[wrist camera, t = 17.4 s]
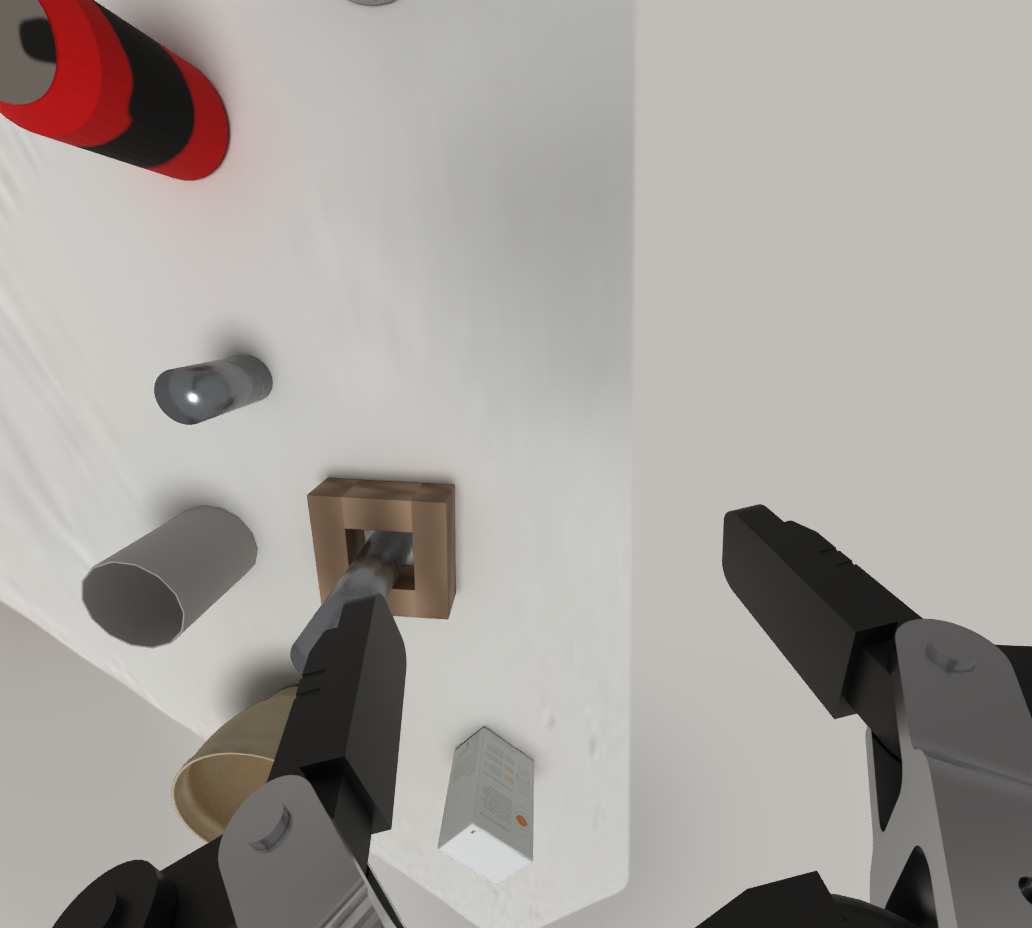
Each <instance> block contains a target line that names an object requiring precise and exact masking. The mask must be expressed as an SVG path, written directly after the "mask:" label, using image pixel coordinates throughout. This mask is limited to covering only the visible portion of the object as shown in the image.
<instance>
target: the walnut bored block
mask: <svg viewBox="0 0 1032 928" xmlns="http://www.w3.org/2000/svg"><path fill="white" fill-rule="evenodd" d="M307 499H308V507H309V514H310V522H311V529H312V537H313V544H314V552H315V559H316V567H317V574H318V582H319V589H320V596H321V604H323V602H324V601H325V600H326V598H327V597H328V595H329V594H330V593H331V591H332V590H333V588H334V587H335V586H336V584H337V583H338V581H339V580H340V579H341V577H342V576H343V574H344V573H345V572H346V570H347V569H348V567H349V566H350V565H351V563H352V562H353V560H354V559H355V558H356V556H357V555H358V553H359V552H360V551H361V549H362V548H363V547H364V545H365V541H364V530H379V531H396V532H412V535H413V556H414V566H413V565H404V567H403V569H402V570H401V572H400V574H399V576H398V578H397V580H396V582H395V584H394V586H393V588H392V590H391V592H390V594H389V596H388V598H387V600H386V602H387V605H388V607H389V609H390V611H391V614H392V616H404V617H420V618H435V619H448V618H449V615H450V611H451V608H452V604H453V601H454V598H455V594H456V574H455V487H454V485H448V484H429V483H411V482H393V481H374V480H356V479H338V478H327V479H326V480H325V481H323V482H322V483H321V484H320V485H319V486H317V487H316V488H315V489H314V490H313V491H311V492H310V493H309V494H308V495H307Z"/></svg>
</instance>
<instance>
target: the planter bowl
mask: <svg viewBox="0 0 1032 928" xmlns="http://www.w3.org/2000/svg"><path fill="white" fill-rule="evenodd" d="M297 688H298V686H294V687H289V688H285V689H282V690H280V691H278V692H277V693H275V694H274V695H273V696H272V697H271V698H269V699H267V700H264V701H262V702H259V703H257V704H255V705H253V706H251V707H249V708H248V709H246V710H244V711H242V712H241V713H239V714H238V715H236V716H235V717H233V718H232V719H231V720H229V721H228V722H227V723H225V724H224V725H223V726H222V727H221V728H219V729H218V730H217V731H216V732H215V733H214V734H213V735H212V736H211V737H210V738H209V739H208V740H207V741H206V742H205V743H204V745H203V746H202V747H201V748H200V749H199V751H198V752H197V753H196V754H195V755H194V756H193V757H192V758H191V759H189V760H188V761H187V763H185V764H184V766H183V767H182V768H181V769H180V771H179V772H178V773H177V775H176V776H175V778H174V781H173V784H172V788H171V798H172V803H173V807H174V809H175V811H176V813H177V815H178V816H179V818H180V820H181V821H182V822H183V823H184V825H185V826H186V827H187V828H188V829H189V830H190V831H191V832H192V833H193V834H194V835H195V836H196V837H198V838H199V839H201V840H202V841H203V842H205V843H206V844H207V843H209V842H211V841H212V840H214V839H216V838H217V837H219V836H220V835H222V834H223V833H224V831H225V829H226V827H227V825H228V823H229V821H230V820H231V818H232V816H233V815H234V814H235V812H236V811H237V809H238V808H239V807H240V806H241V805H242V803H243V802H244V801H245V800H246V799H247V798H248V797H249V796H250V795H251V794H252V793H253V792H255V791H256V790H257V789H259V788H260V787H261V786H263V785H264V784H266V782H267V779H268V777H269V774H270V771H271V768H272V765H273V762H274V759H275V756H276V753H277V750H278V747H279V744H280V741H281V738H282V734H283V731H284V728H285V725H286V722H287V719H288V716H289V713H290V710H291V707H292V704H293V701H294V699H296V692H297Z"/></svg>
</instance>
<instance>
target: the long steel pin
mask: <svg viewBox="0 0 1032 928" xmlns="http://www.w3.org/2000/svg"><path fill="white" fill-rule="evenodd" d="M412 549H413V535H412V532H396V531H379V530H375V531H374V533H373V534H372V535H371V537H370V538H369V540H368V541H367V542H366V544H365V545H364V547H363V548H362V549H361V551H360V552H359V553H358V555H357V556H356V558H355V559H354V560H353V562H352V563H351V565H350V566H349V567H348V569H347V570H346V572H345V573H344V574H343V576H342V577H341V579H340V580H339V581H338V583H337V584H336V586H335V587H334V588H333V590H332V591H331V593H330V594H329V595H328V597H327V598H326V600H325V601H324V602H323V604H322V605H321V606H320V608H319V609H318V611H317V612H316V613H315V615H314V616H313V618H312V619H311V620H310V622H309V623H308V625H307V626H306V627H305V629H304V630H303V632H302V633H301V634H300V636H299V637H298V639H297V640H296V641H295V643H294V644H293V646H292V648H291V660H292V663H293V665H294V666H295V668H296V669H297V670H298V671H299V672H300V673H301V674H302V673H303V670H304V667H305V664H306V661H307V658H308V655H309V652H310V650H311V649H312V648H313V646H314V645H315V644H316V642H317V641H318V639H319V638H320V637H321V635H322V634H323V633H324V631H325V630H328V629H332V628H336V627H338V623H339V620H340V616H341V612H342V609H343V606H344V603H345V602H346V601H348V600H352V599H356V598H360V597H364V596H369V595H373V594H377V593H381V594H382V595H383V596H384V598H385V600H387V598H388V596H389V594H390V592H391V590H392V588H393V586H394V584H395V582H396V580H397V578H398V576H399V574H400V572H401V570H402V569H403V567H404V565H405V563H406V561H407V559H408V557H409V555H410V553H411V551H412Z"/></svg>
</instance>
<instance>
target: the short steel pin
mask: <svg viewBox="0 0 1032 928" xmlns="http://www.w3.org/2000/svg"><path fill="white" fill-rule="evenodd" d="M271 389H272V376H271V374H270V371H269V370H268V368H267V367H266V365H265V364H264V363H263V362H261V361H260V360H259V359H257V358H255V357H252V356H247V355H243V356H237V357H232V358H227V359H222V360H217V361H211V362H206V363H201V364H196V365H191V366H186V367H181V368H175V369H170V370H167V371H165V372H163V373H162V374H160V375H159V377H158V378H157V380H156V382H155V387H154V393H155V397H156V400H157V403H158V405H159V406H160V408H161V409H162V411H163V412H164V413H165V414H166V415H167V416H168V417H170V418H171V419H173V420H174V421H176V422H179V423H182V424H187V425H192V424H197V423H200V422H202V421H205V420H208V419H211V418H213V417H216V416H219V415H222V414H224V413H227V412H230V411H233V410H235V409H238V408H241V407H243V406H246V405H249V404H252V403H254V402H257V401H260V400H262V399H264V398H266V397H267V396H268V395H269V393H270V392H271Z"/></svg>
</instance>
